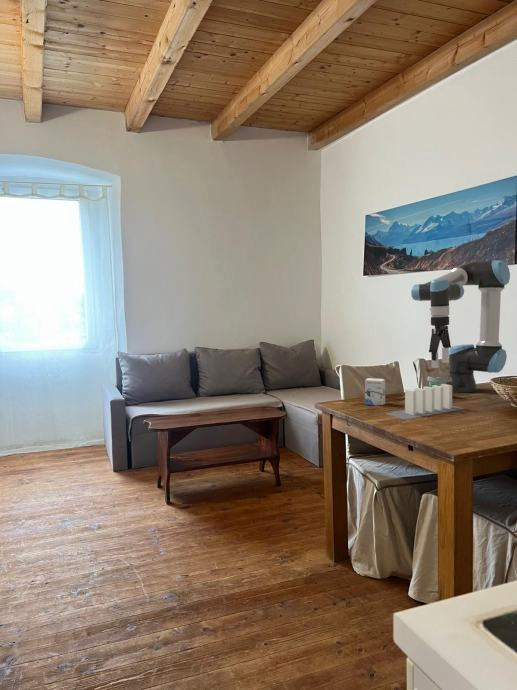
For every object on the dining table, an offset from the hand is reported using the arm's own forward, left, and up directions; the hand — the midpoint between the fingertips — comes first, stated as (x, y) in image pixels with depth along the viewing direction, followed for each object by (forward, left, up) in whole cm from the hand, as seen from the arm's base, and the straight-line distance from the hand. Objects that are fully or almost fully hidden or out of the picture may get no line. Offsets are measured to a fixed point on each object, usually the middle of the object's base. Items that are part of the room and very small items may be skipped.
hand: (440, 365), depth 226 cm
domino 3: (+7, 0, -19) cm, 20 cm away
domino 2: (+12, 0, -19) cm, 22 cm away
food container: (-17, -20, -20) cm, 33 cm away
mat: (+9, 0, -20) cm, 22 cm away
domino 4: (+2, 0, -19) cm, 19 cm away
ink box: (+17, -24, -20) cm, 35 cm away
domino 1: (+17, 0, -19) cm, 25 cm away
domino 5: (-3, 0, -19) cm, 19 cm away
